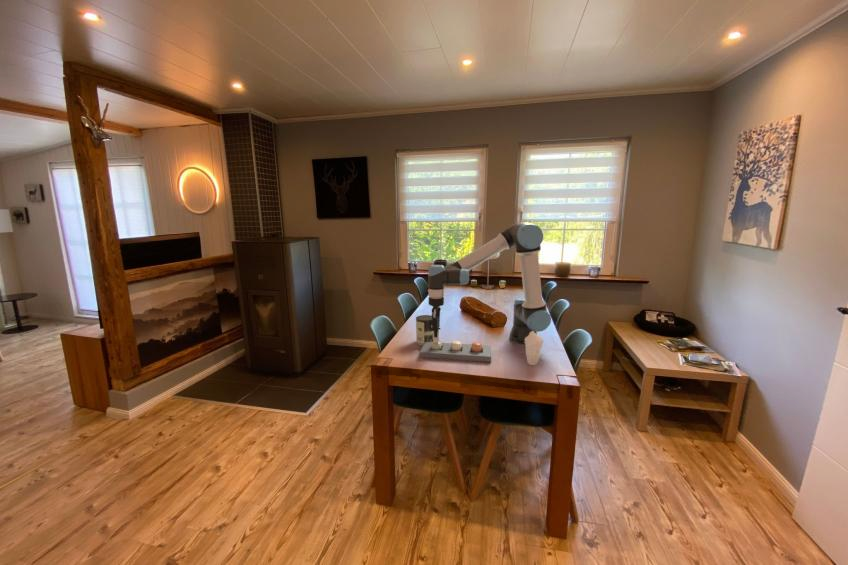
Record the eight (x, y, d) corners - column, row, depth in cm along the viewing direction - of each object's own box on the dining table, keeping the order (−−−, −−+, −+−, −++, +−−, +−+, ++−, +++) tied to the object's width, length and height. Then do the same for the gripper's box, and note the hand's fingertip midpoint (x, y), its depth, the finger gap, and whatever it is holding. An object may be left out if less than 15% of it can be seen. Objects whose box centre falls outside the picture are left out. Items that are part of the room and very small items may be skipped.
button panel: (490, 351, 175) (490, 345, 175) (491, 362, 162) (491, 356, 161) (425, 347, 181) (425, 341, 181) (420, 358, 168) (420, 352, 167)
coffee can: (436, 339, 192) (436, 315, 190) (433, 346, 182) (433, 321, 180) (418, 338, 194) (418, 314, 192) (414, 345, 184) (413, 319, 182)
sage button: (441, 348, 175) (441, 341, 174) (440, 352, 170) (440, 345, 170) (432, 348, 176) (432, 340, 175) (430, 352, 171) (430, 344, 170)
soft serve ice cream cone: (538, 359, 165) (539, 327, 162) (544, 367, 157) (546, 333, 153) (520, 360, 164) (522, 328, 161) (526, 367, 156) (528, 334, 153)
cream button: (461, 348, 173) (461, 341, 172) (460, 352, 168) (461, 344, 168) (451, 348, 174) (451, 340, 173) (450, 351, 169) (450, 344, 169)
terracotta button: (481, 349, 171) (481, 342, 171) (481, 353, 167) (481, 346, 166) (471, 349, 172) (471, 341, 172) (471, 353, 168) (471, 345, 167)
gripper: (430, 293, 175) (430, 337, 179) (426, 299, 162) (426, 347, 167) (445, 294, 173) (445, 338, 178) (442, 300, 161) (441, 348, 165)
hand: (436, 342), depth 172 cm, fingers closed
